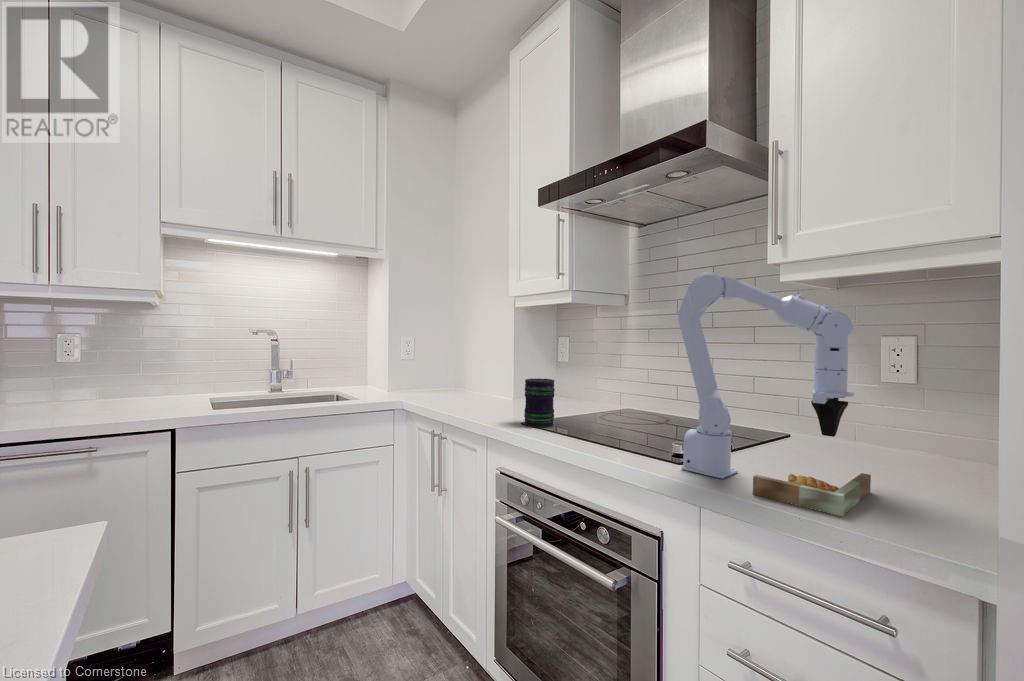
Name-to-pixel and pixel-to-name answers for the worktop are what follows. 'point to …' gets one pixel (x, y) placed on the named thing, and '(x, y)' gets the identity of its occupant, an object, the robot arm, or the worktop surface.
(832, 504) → the two-tone corner bracket
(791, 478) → the pastry
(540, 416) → the storage jar
